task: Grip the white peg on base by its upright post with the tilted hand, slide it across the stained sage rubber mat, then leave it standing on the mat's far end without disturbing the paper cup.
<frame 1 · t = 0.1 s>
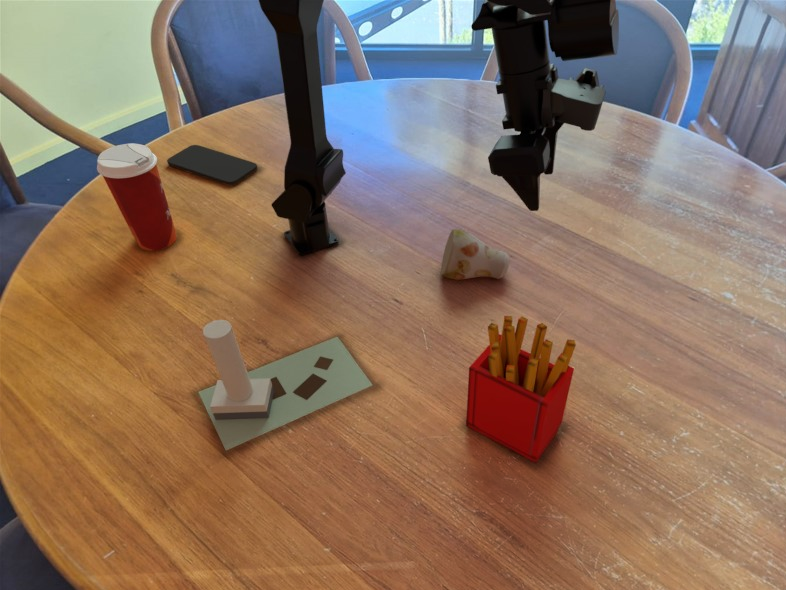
hand: (541, 191, 79), 15 cm above the table, tool pointing down, fingers open, 9 cm apart
mat: (287, 390, 75), on the table
paper cup: (157, 240, 95), on the table
french fries container: (513, 427, 72), on the table
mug: (474, 274, 92), on the table
phone: (213, 167, 110), on the table
white peg on base: (245, 405, 72), resting on mat
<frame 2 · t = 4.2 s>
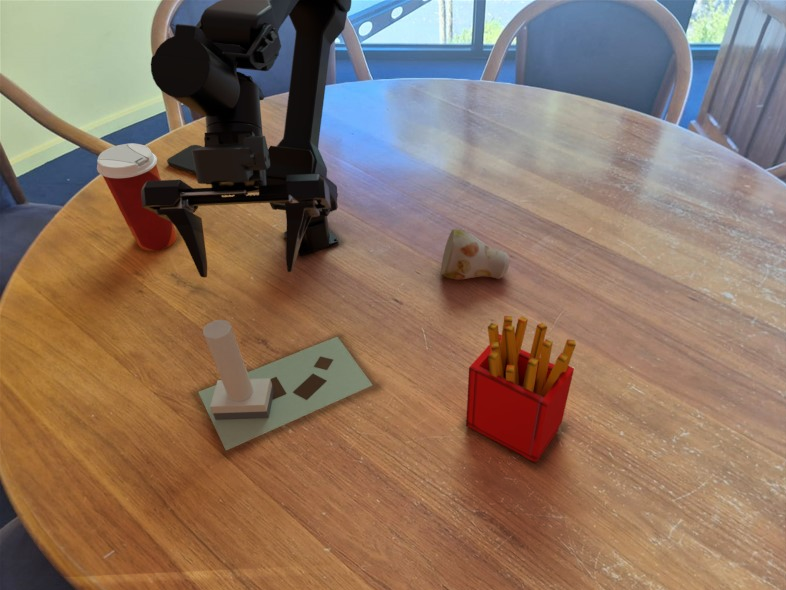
hand: (247, 274, 68), 14 cm above the table, tool tilted 45°, fingers open, 9 cm apart
nothing on the table moved.
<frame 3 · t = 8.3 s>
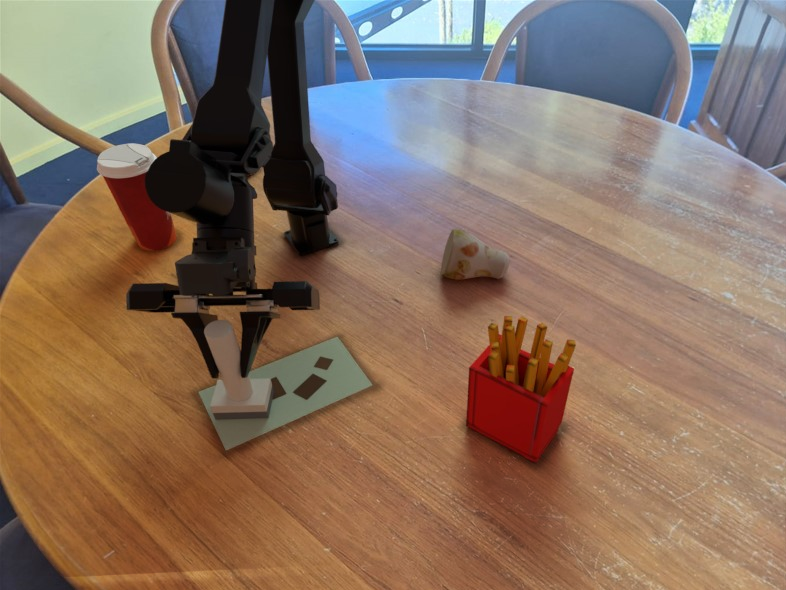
hand: (229, 378, 67), 7 cm above the table, tool tilted 45°, fingers closed on white peg on base, 3 cm apart
white peg on base: (245, 405, 72), resting on mat, touching gripper
everything else where it was.
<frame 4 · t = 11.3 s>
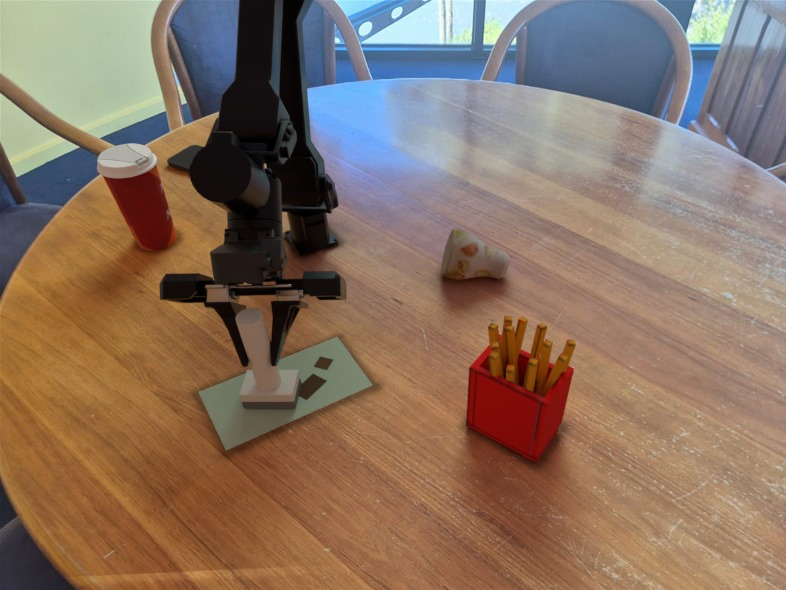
hand: (259, 366, 68), 7 cm above the table, tool tilted 45°, fingers closed on white peg on base, 3 cm apart
white peg on base: (273, 395, 73), point 1 cm above the table, touching gripper
everything else where it was.
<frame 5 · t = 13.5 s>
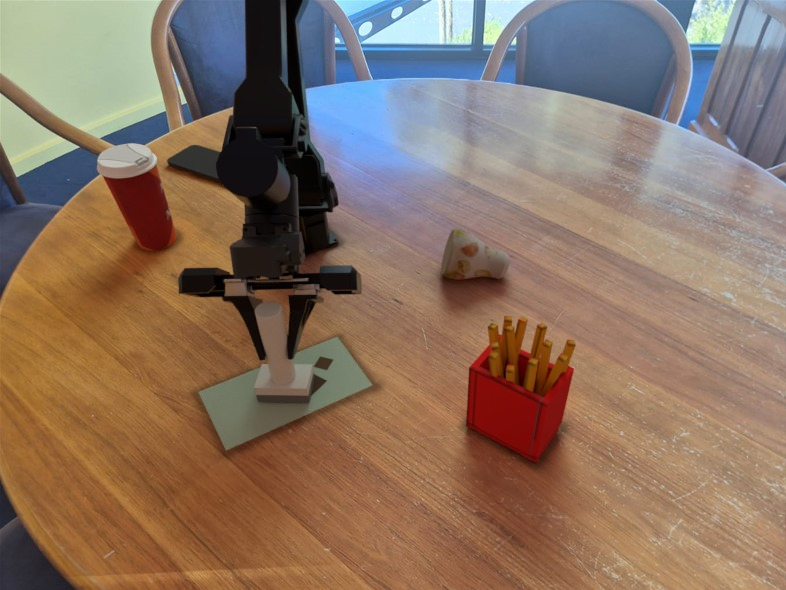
hand: (276, 359, 69), 7 cm above the table, tool tilted 45°, fingers closed on white peg on base, 3 cm apart
white peg on base: (287, 390, 74), point 1 cm above the table, touching gripper
everything else where it was.
when the fingers open (7 cm above the table, at t = 14.8 s): white peg on base stays where it is, resting on mat.
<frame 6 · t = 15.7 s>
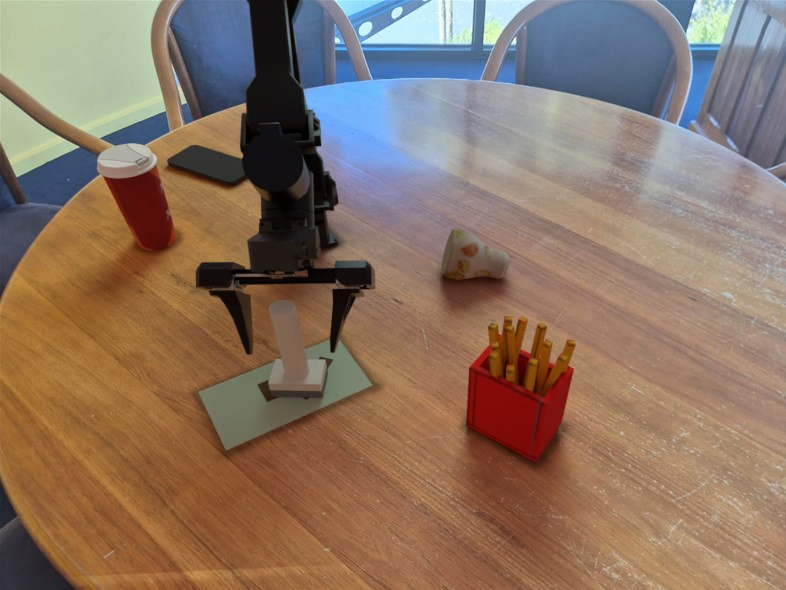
hand: (291, 353, 70), 7 cm above the table, tool tilted 45°, fingers open, 9 cm apart
white peg on base: (300, 384, 75), resting on mat
everything else where it was.
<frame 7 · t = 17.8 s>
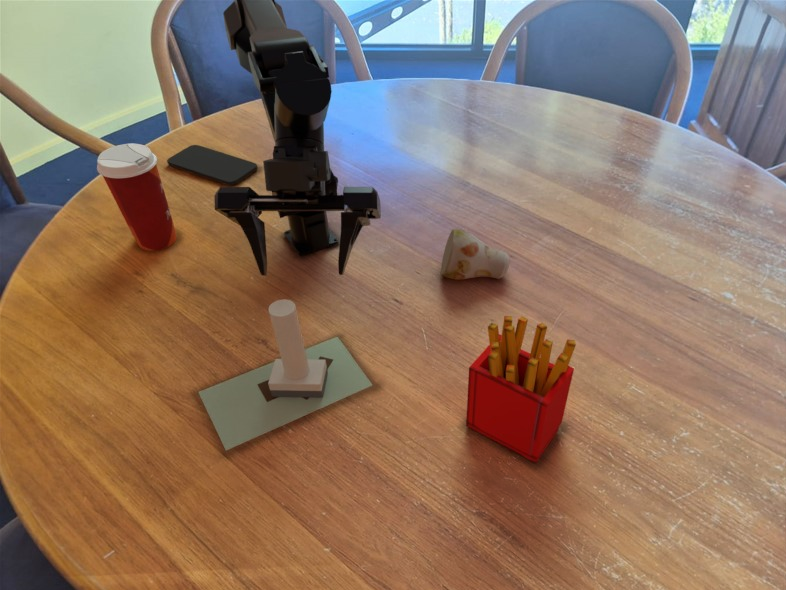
hand: (302, 275, 75), 10 cm above the table, tool tilted 45°, fingers open, 9 cm apart
nothing on the table moved.
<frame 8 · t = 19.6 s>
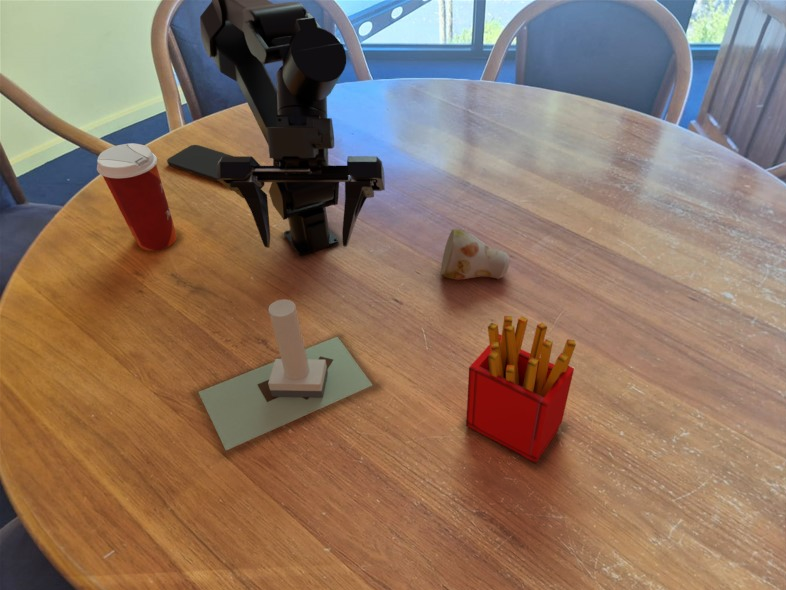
hand: (306, 246, 74), 13 cm above the table, tool tilted 45°, fingers open, 9 cm apart
nothing on the table moved.
at the end: white peg on base inside the target area on the mat (1.8 cm from its centre), point 0.5 cm above the mat's base; white peg on base tilted 0°; paper cup moved 0.2 cm from its start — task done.
